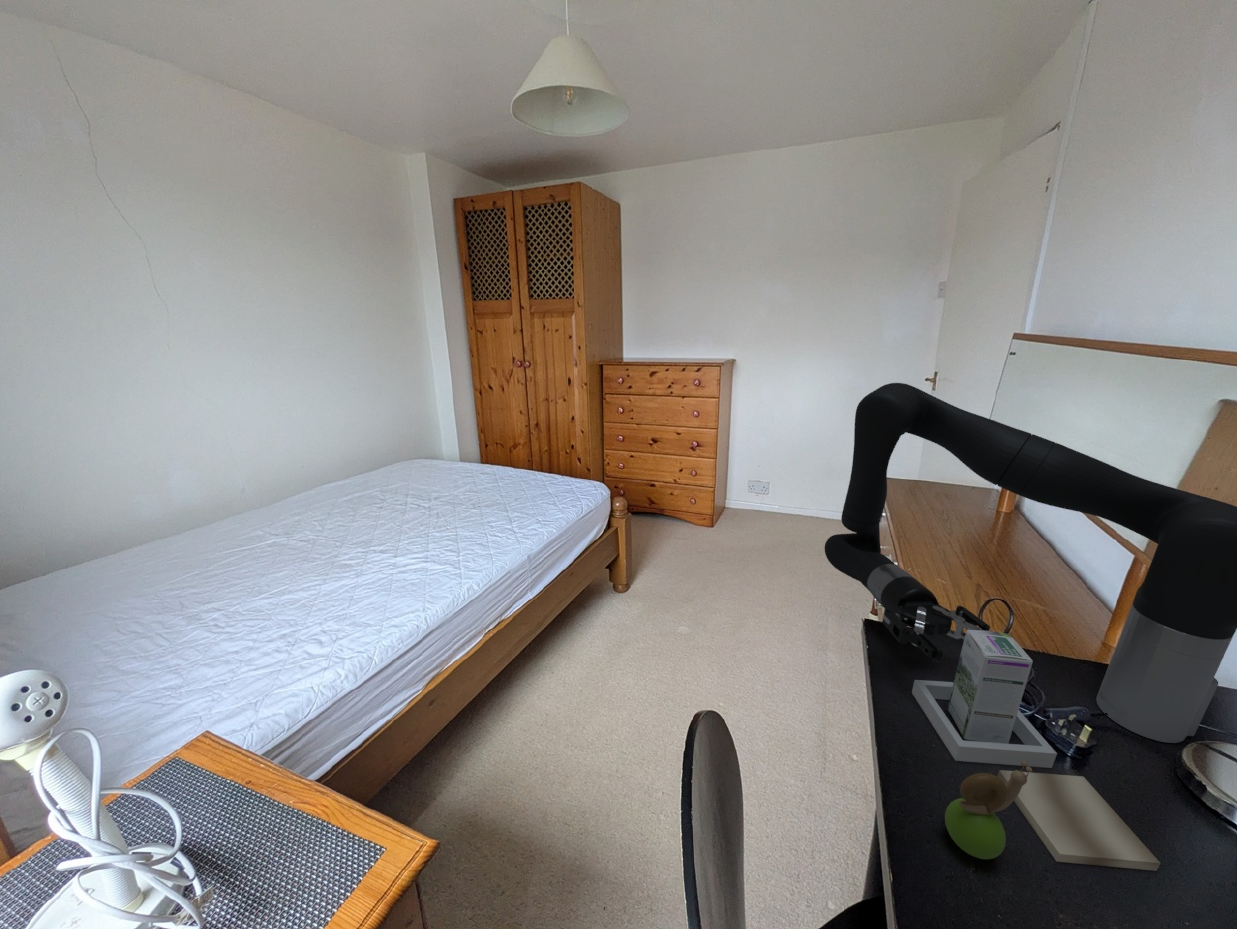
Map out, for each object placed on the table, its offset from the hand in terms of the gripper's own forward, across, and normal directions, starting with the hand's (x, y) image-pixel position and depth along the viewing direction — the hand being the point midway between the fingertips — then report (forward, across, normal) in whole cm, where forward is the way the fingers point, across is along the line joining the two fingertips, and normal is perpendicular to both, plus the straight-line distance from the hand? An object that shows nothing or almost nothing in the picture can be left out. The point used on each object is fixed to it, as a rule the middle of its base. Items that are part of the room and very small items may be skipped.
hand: (968, 655), depth 70 cm
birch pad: (+17, +1, +9) cm, 20 cm away
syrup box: (+4, 0, +9) cm, 10 cm away
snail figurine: (+19, -12, +9) cm, 25 cm away
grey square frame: (+4, 0, +9) cm, 10 cm away
